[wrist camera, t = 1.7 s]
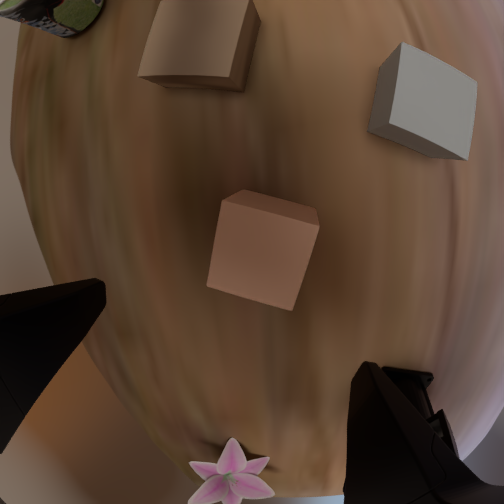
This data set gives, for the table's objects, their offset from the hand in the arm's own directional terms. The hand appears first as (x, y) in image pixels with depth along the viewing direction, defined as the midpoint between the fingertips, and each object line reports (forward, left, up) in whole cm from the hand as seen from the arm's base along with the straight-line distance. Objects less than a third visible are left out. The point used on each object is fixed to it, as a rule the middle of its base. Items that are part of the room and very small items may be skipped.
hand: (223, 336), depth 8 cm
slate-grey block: (-7, -11, -12) cm, 17 cm away
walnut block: (+7, -12, -12) cm, 18 cm away
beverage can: (+22, -18, -12) cm, 31 cm away
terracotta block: (0, 0, -12) cm, 12 cm away
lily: (-4, +32, -12) cm, 34 cm away
